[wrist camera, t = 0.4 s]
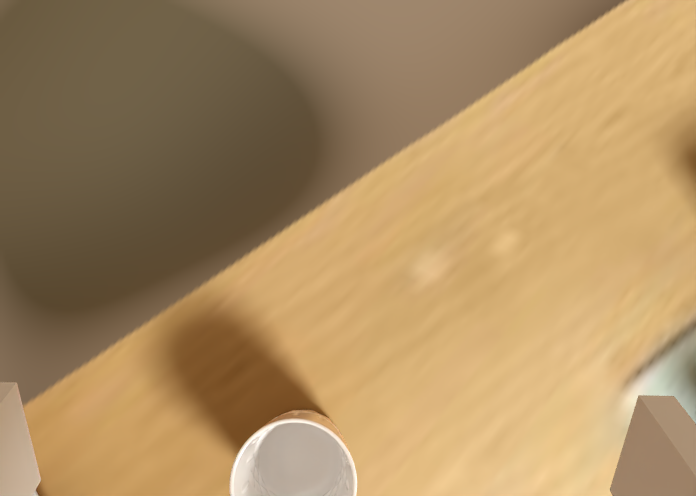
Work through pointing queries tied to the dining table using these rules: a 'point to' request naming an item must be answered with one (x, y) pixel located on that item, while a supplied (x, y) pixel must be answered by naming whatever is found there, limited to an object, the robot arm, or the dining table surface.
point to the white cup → (295, 459)
